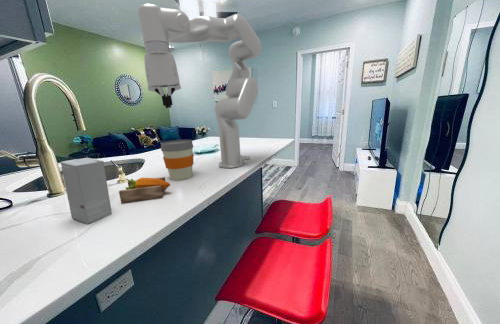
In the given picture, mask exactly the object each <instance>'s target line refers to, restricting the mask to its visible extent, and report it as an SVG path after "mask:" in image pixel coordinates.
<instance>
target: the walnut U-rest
mask: <svg viewBox="0 0 500 324" xmlns="http://www.w3.org/2000/svg"><path fill="white" fill-rule="evenodd" d="M155 178H156V179H161V180H164V181H166V177H165V176H163V177H155ZM137 180H138V179H136V180H135V181H137ZM131 184H132V183H130V182H128V181H127V185H128V187H130V186H132V185H131ZM133 184H134V183H133ZM166 189H167V188H165V189H163V190H162V187H161V185H160V186H152V187H144V188H136V187H135V188H133V189H128V190H126V189H122V190H119V191H118V194H119V200H120V203H121V205H123V204H129V203H137V202H143V201H150V200H156V199H157V200H159V199H162V198H164V195H165V194H166V193H165V192H166Z"/></svg>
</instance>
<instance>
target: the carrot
mask: <svg viewBox="0 0 500 324" xmlns="http://www.w3.org/2000/svg"><path fill="white" fill-rule="evenodd" d="M156 178H157V177H155V178H154V177H140V178H138V179H136V180H137V181H136V180H134V179H132V178H130V179H128V180H127V183H128V182H130V183H132V184H131V185H132V186H130V187H129V186H128V187H127V186H126V187H125V190H128V189H133V188H135V187H136V188H144V187H152V186H160V185H161V187H162V190H163V189H165V188H166V189H167V188H169V187H170V186H171V183H170V182H168V181H166V180H165V181H164V180H161V179H156ZM133 183H134V184H133Z"/></svg>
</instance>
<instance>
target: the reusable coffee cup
mask: <svg viewBox="0 0 500 324" xmlns="http://www.w3.org/2000/svg"><path fill="white" fill-rule="evenodd" d="M193 148H194V144H193V141H192V139H175V140H174V139H173V140H168V141H167V140H166V141H163V142H161V143H160V151H161V153H162V154H163V157H162V158H163V162H164V165H165V169H167V172H168V175H169V178H170V180H172V181H183V180H187V179H190V178H192V177H193V165H194V153H193V152H194V151H193Z"/></svg>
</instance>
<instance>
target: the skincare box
mask: <svg viewBox="0 0 500 324" xmlns="http://www.w3.org/2000/svg"><path fill="white" fill-rule="evenodd" d="M60 165H61V169H62V175H63V180H64V185H65V190H66V191H65V192H66V195H67V200H68V201H67V202H68V205H69V206H68V207H69V211H70V216H71V218H72V219H73V220H77V221H79V222H81V223H82V224H83V223H84V224H86V225H88V224H91V223H94V222H96V221H98V220H100V219H103V218H106V217H108V216H110V215H112V213H113V212H112V208H111V200H110V193H109V188H108V187H109V186H108V181H107V176H106V175H107V174H106V168H105V162H104V160H102V159H98V158H91V157H84V158H83V157H82V158H77V159H70V160H63V161H60Z"/></svg>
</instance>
